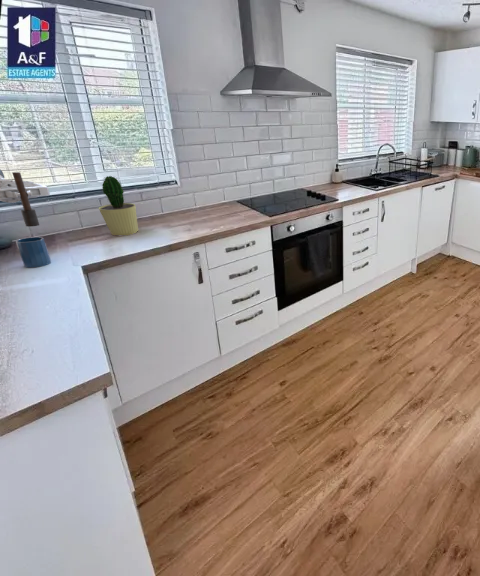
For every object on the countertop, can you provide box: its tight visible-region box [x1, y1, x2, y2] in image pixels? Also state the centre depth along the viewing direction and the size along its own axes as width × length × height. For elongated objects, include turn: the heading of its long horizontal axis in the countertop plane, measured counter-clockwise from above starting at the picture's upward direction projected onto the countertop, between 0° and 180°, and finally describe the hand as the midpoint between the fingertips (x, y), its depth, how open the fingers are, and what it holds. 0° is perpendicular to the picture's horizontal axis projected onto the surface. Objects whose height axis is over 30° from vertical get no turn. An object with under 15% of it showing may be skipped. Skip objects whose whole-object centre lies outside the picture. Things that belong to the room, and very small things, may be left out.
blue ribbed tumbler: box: [15, 236, 52, 268], centre depth 145 cm, size 8×8×10 cm
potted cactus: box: [98, 175, 139, 236], centre depth 184 cm, size 15×15×30 cm
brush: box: [11, 171, 40, 227], centre depth 141 cm, size 4×4×20 cm
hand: (24, 194), depth 140 cm, fingers closed on brush, 2 cm apart
